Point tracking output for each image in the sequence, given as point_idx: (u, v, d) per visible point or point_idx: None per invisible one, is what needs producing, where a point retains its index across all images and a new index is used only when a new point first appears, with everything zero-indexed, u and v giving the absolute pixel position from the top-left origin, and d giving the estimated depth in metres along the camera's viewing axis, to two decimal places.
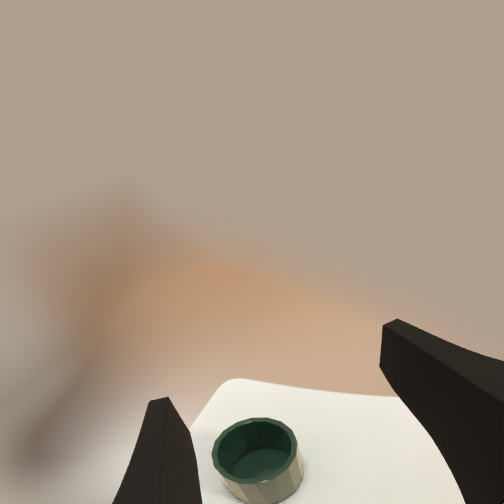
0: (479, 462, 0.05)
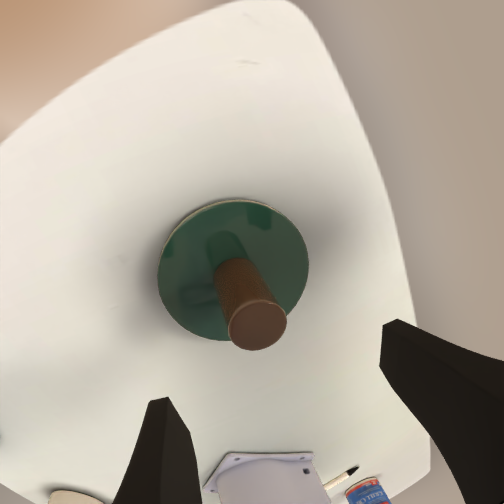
0: (479, 462, 0.05)
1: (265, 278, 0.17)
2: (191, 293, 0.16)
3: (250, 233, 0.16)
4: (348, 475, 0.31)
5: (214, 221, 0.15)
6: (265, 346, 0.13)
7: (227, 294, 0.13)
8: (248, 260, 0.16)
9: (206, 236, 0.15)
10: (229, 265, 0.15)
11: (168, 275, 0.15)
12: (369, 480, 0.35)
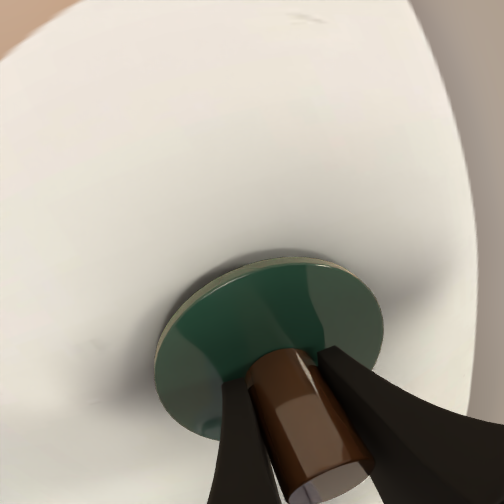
0: None
1: None
2: (209, 398, 0.10)
3: (307, 312, 0.09)
4: None
5: (249, 298, 0.08)
6: (336, 496, 0.06)
7: (280, 433, 0.07)
8: (302, 352, 0.09)
9: (235, 321, 0.09)
10: (274, 366, 0.09)
11: (172, 377, 0.09)
12: None
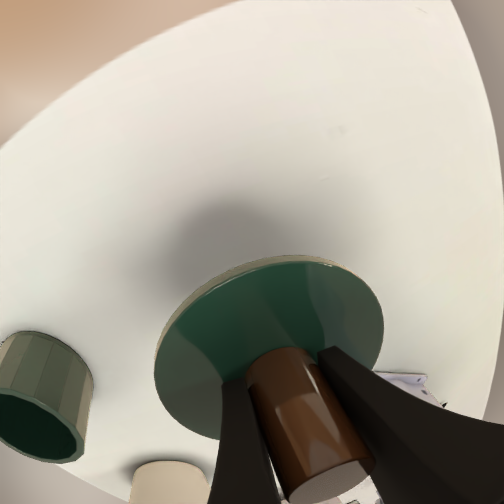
0: None
1: None
2: (209, 397, 0.10)
3: (308, 310, 0.09)
4: None
5: (250, 296, 0.08)
6: (336, 495, 0.06)
7: (280, 432, 0.07)
8: (302, 351, 0.09)
9: (235, 320, 0.09)
10: (274, 365, 0.09)
11: (172, 376, 0.09)
12: None
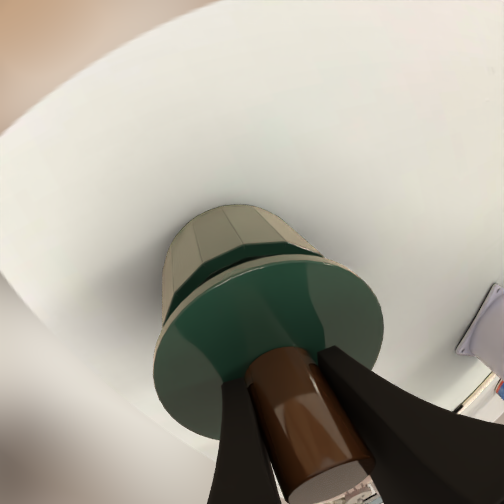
0: None
1: None
2: (208, 396, 0.10)
3: (307, 310, 0.09)
4: None
5: (249, 295, 0.08)
6: (336, 495, 0.06)
7: (279, 432, 0.07)
8: (302, 350, 0.09)
9: (234, 319, 0.09)
10: (273, 365, 0.09)
11: (171, 376, 0.09)
12: None
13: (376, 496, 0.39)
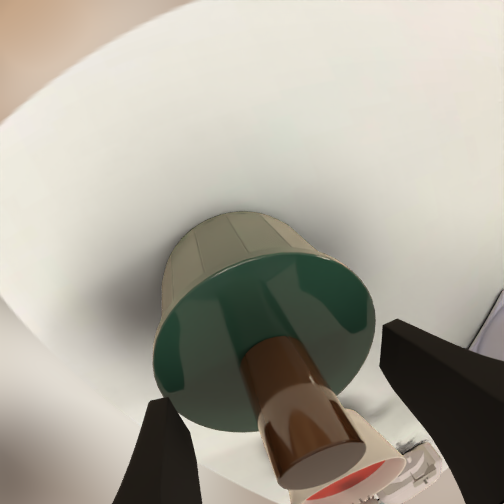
0: (479, 462, 0.05)
1: (315, 358, 0.11)
2: (206, 385, 0.10)
3: (300, 300, 0.10)
4: None
5: (244, 286, 0.09)
6: (328, 481, 0.07)
7: (273, 416, 0.07)
8: (295, 340, 0.10)
9: (230, 309, 0.09)
10: (267, 353, 0.09)
11: (170, 364, 0.09)
12: None
13: (379, 501, 0.38)
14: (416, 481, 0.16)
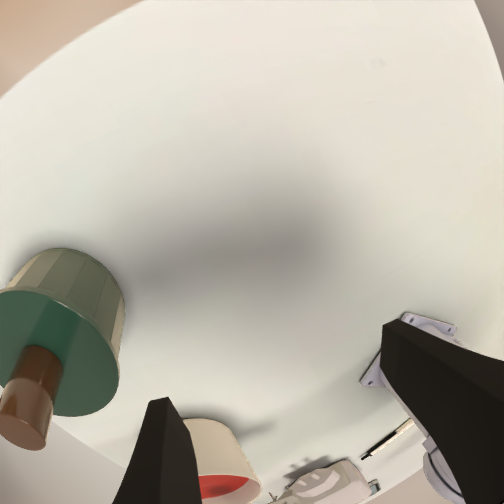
0: (479, 462, 0.05)
1: (69, 366, 0.12)
2: (9, 371, 0.12)
3: (37, 322, 0.11)
4: None
5: (2, 309, 0.11)
6: (35, 449, 0.08)
7: None
8: (43, 350, 0.12)
9: (1, 323, 0.11)
10: (21, 355, 0.11)
11: None
12: None
13: None
14: (272, 503, 0.18)
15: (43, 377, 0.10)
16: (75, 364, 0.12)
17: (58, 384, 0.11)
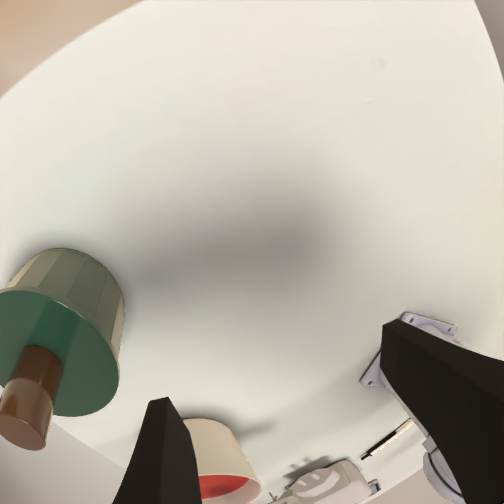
0: (479, 462, 0.05)
1: (69, 366, 0.12)
2: (9, 371, 0.12)
3: (37, 322, 0.11)
4: None
5: (2, 309, 0.11)
6: (35, 449, 0.08)
7: None
8: (43, 350, 0.12)
9: (1, 323, 0.11)
10: (21, 355, 0.11)
11: None
12: None
13: None
14: (272, 503, 0.18)
15: (43, 377, 0.10)
16: (75, 364, 0.12)
17: (58, 384, 0.11)
